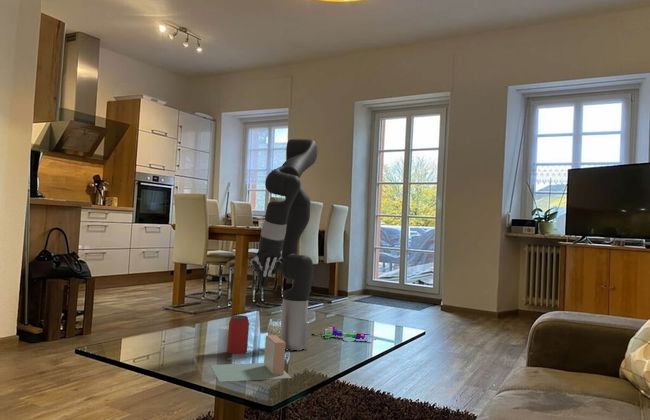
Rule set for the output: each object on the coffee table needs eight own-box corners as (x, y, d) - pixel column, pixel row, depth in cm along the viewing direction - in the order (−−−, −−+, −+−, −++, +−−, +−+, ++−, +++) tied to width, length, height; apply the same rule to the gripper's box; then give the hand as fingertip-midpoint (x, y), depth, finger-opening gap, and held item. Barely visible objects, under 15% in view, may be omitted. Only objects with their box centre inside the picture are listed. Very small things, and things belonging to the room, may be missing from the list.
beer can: (229, 356, 152) (232, 318, 152) (224, 351, 158) (227, 315, 158) (249, 355, 155) (252, 318, 155) (243, 350, 161) (246, 314, 161)
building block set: (381, 337, 200) (381, 326, 200) (368, 346, 181) (369, 334, 181) (326, 330, 209) (326, 319, 209) (308, 338, 190) (309, 326, 190)
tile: (273, 365, 142) (275, 335, 143) (283, 374, 133) (285, 342, 134) (263, 365, 141) (265, 335, 142) (272, 375, 132) (274, 342, 132)
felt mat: (275, 364, 146) (275, 362, 146) (291, 380, 131) (291, 377, 131) (209, 367, 138) (210, 365, 138) (219, 383, 123) (219, 381, 123)
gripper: (283, 231, 154) (273, 279, 158) (248, 231, 146) (238, 282, 149) (296, 239, 149) (285, 289, 153) (261, 239, 140) (250, 292, 144)
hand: (262, 286), depth 151 cm, fingers closed
